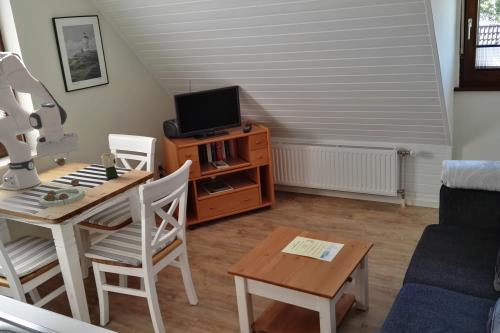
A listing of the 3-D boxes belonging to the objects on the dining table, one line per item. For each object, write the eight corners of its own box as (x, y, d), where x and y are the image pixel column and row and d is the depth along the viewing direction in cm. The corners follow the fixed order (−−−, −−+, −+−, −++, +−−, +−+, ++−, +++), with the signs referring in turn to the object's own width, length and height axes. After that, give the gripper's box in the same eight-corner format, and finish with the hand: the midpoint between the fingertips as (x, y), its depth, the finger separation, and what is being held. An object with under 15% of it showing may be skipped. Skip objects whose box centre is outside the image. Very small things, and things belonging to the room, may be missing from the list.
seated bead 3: (58, 202, 248) (56, 194, 247) (63, 199, 251) (62, 191, 250) (65, 202, 246) (63, 195, 245) (70, 199, 250) (68, 192, 249)
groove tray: (30, 207, 248) (28, 202, 247) (59, 191, 267) (58, 187, 266) (65, 208, 241) (64, 203, 240) (93, 192, 260) (92, 187, 259)
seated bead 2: (45, 203, 248) (43, 195, 247) (50, 200, 252) (48, 192, 251) (51, 203, 247) (49, 195, 246) (57, 200, 251) (55, 193, 249)
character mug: (119, 179, 278) (114, 155, 274) (105, 181, 276) (101, 158, 273) (118, 173, 288) (114, 151, 284) (105, 176, 286) (101, 153, 283)
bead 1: (57, 167, 259) (55, 159, 258) (57, 165, 263) (56, 158, 262) (65, 165, 260) (64, 158, 259) (66, 164, 264) (64, 156, 263)
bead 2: (70, 187, 273) (68, 180, 272) (75, 184, 276) (73, 177, 275) (76, 187, 271) (75, 180, 270) (81, 184, 275) (79, 177, 274)
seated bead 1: (46, 199, 255) (44, 191, 253) (51, 196, 258) (50, 188, 257) (53, 199, 253) (51, 191, 252) (58, 196, 257) (56, 189, 256)
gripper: (76, 131, 263) (82, 157, 267) (34, 138, 257) (40, 164, 261) (76, 133, 257) (82, 159, 261) (33, 140, 251) (39, 167, 255)
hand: (61, 162), depth 261 cm, fingers closed on bead 1, 4 cm apart
